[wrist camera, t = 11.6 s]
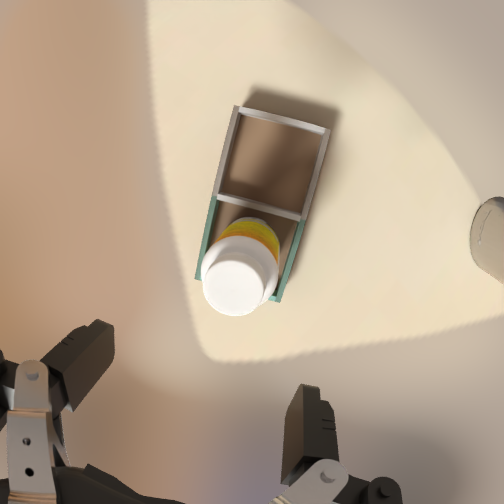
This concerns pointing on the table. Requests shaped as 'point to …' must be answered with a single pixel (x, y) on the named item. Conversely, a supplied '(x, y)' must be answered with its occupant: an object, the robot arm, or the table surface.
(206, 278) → the supplement bottle
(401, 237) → the table surface
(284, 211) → the divided sorting tray
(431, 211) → the table surface
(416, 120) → the table surface
